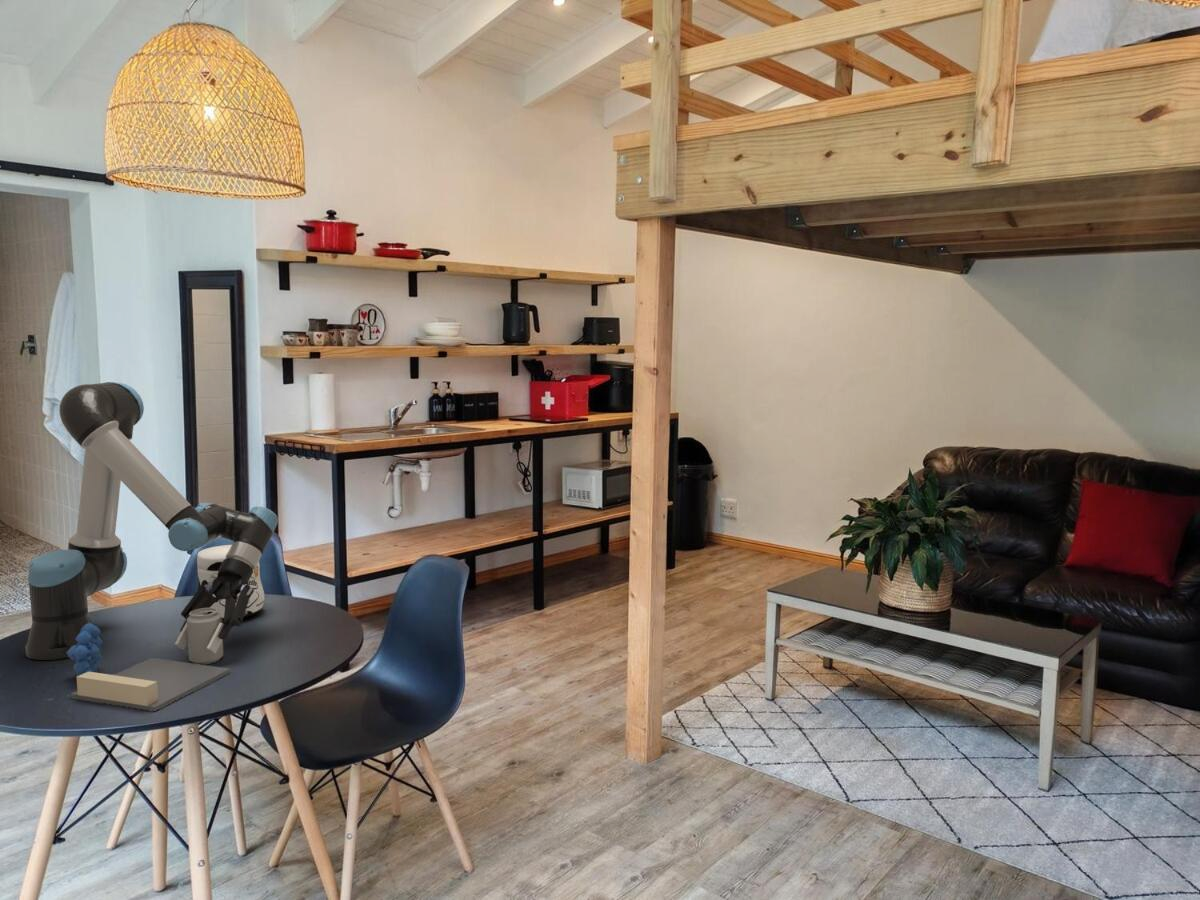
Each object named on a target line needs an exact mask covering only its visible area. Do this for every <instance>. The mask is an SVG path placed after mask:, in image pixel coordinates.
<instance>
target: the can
mask: <svg viewBox="0 0 1200 900" xmlns="http://www.w3.org/2000/svg"><path fill="white" fill-rule="evenodd" d="M189 615H190V616H189V617H188V618H187V635H188V643H187V649H188V651H187V652H188V660H189V661H190V662H192V664H200V665H201V664H202V665H209V664H213V662H214V663H216V661H217V662H218V661H220V659H221V658H222V657H223V656H224V641H223V640H222V642H221V644H220V646H219V648H218V650H217V652H216V654H214V653H212V652H211V651H209V650H208V649H207V646H208V645H209V643H210V641H211V639H212V637H213V635H214V633H215V631H216V629H217V627H218V625H219V623H223V621H222V619H221V615H220V614H219V613H218V609H216V608H200V609H196V610H193V611H191V612H190V613H189Z"/></svg>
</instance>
